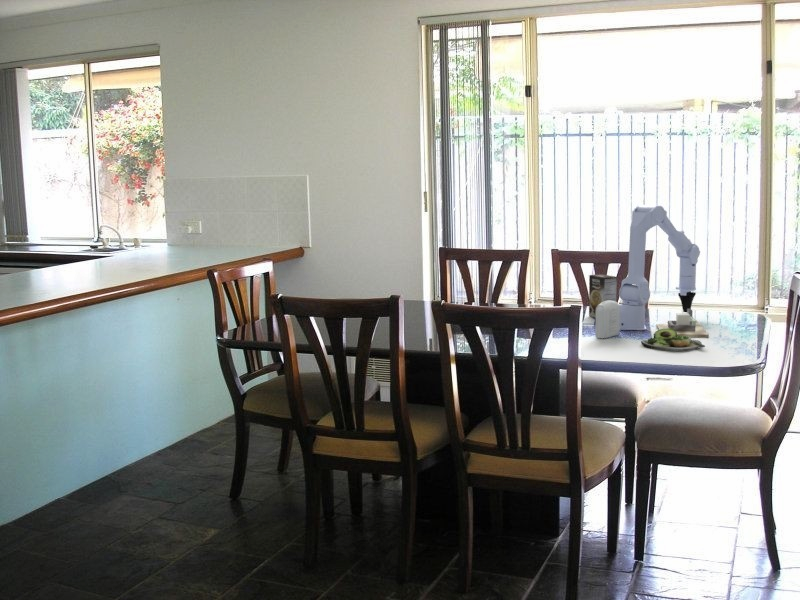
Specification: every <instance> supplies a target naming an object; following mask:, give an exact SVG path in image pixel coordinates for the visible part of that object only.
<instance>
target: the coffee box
mask: <svg viewBox="0 0 800 600" xmlns="http://www.w3.org/2000/svg"><path fill="white" fill-rule="evenodd" d="M588 276H589V278H588V279H589V283H588V285H589V286H588V288H589V289H588V290H589V292H588V293H589V294H588V317H591V318H595V319H596V307H597V306H598V305H599V304H600V303H602V302H604V301H608V300H610V301H616V302H617V285H618V284H617V280H618V278H617V276H613V275H607V274H602V273H600V274H589V275H588Z"/></svg>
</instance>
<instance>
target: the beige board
mask: <svg viewBox="0 0 800 600" xmlns="http://www.w3.org/2000/svg"><path fill="white" fill-rule="evenodd" d="M694 319H695V320H696V326H695V325H692V321H690V325H676V320H667V323H665V324H664V323H659V324H658V323H656V326H655V327H656V329H657V331H658V330H660V329H672V330H674V331H676V333H677V335H678V336H679V335H680V336H684V335H685V336H687V337H689V338H709V337H710V336H709V335H710V334H709V333H708V332H707V331H706V330H705V328H704V327H703V326H702V325H701V323H700V322H699V321H698V320H697V319H696V318H694Z"/></svg>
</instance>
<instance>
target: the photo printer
mask: <svg viewBox="0 0 800 600" xmlns="http://www.w3.org/2000/svg"><path fill="white" fill-rule="evenodd" d="M619 304H620V303H618V302H617V300H616V301H610V300H608V301H604V302H602V303H600V304H599V305H598V306H597V307H596V318H595V330H594V331H595V332H594V333H595V338H597V339H600V338H602V340H603V338H604V339H607V338H608V339H609V338H610V337H615V336H618V335H620V330H619V315H620V307H619Z"/></svg>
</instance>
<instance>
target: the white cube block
mask: <svg viewBox="0 0 800 600" xmlns="http://www.w3.org/2000/svg"><path fill="white" fill-rule="evenodd" d="M675 321H676V325H690V315H689V314H688V313H687V312H680V313H679V312H676V314H675Z"/></svg>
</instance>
